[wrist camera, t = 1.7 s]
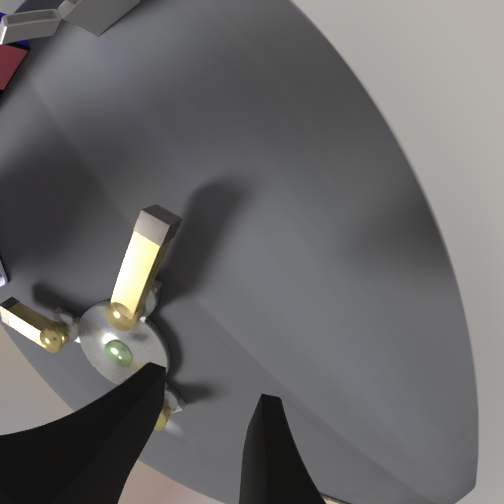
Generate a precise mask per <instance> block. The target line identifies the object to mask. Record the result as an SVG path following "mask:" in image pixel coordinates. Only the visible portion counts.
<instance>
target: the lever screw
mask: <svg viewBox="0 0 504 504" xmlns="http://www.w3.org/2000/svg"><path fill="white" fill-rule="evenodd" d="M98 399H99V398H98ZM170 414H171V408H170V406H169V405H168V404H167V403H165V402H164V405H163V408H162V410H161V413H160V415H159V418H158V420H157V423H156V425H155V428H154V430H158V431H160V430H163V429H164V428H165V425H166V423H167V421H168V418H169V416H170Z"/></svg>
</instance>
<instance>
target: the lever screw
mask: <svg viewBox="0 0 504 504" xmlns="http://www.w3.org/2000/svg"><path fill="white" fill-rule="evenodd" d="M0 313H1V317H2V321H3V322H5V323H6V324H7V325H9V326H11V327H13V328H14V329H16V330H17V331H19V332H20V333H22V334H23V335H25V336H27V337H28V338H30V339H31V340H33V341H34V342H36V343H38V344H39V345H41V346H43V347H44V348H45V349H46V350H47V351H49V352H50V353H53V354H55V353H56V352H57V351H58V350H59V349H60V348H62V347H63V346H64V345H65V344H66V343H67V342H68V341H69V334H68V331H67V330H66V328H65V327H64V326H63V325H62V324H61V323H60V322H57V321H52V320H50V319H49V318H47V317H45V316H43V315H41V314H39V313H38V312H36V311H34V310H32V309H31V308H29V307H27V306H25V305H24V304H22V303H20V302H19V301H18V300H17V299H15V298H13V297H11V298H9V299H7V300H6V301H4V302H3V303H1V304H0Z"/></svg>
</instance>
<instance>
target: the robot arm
mask: <svg viewBox="0 0 504 504" xmlns="http://www.w3.org/2000/svg"><path fill="white" fill-rule="evenodd" d="M7 282H8V280H7V277H6V274H5V271H4V269H3V266H2V263H1V260H0V287H1V286H3V285H5V284H7ZM165 379H166V367H164V366H161V365H158V364H155V363H152V362H148V363H146V364H145V365H144V366H143V367H142V368H140V369H139V370H138V371H137V372H135V373H134V374H133V375H132V376H130V377H129V378H128V379H126V380H125V381H124V382H122V383H121V384H120V385H118V386H117V387H115V388H114V389H112V390H111V391H109V392H108V393H107V394H105V395H103V396H102V397H100V398H99V399H97V400H95V401H94V402H92V403H90V404H89V405H87V406H85V407H83V408H81V409H80V410H78V411H76V412H74V413H72V414H70V415H67V416H65V417H63V418H61V419H58V420H56V421H53V422H50V423H48V424H45V425H42V426H39V427H36V428H33V429H29V430H25V431H21V432H16V433H11V434H7V435H0V504H117V503H118V500H119V498H120V495H121V493H122V490H123V488H124V485H125V482H126V480H127V478H128V476H129V474H130V471H131V469H132V468H133V466H134V464H135V462H136V461H137V459H138V457H139V455H140V453H141V452H142V450H143V448H144V446H145V444H146V442H147V441H148V439H149V437H150V435H151V433H152V431H153V430H154V428H155V425H156V423H157V420H158V418H159V415H160V413H161V410H162V408H163V405H164V393H165ZM239 504H327V503H326V502H325V500H324V499H323V497H322V496H321V494H320V493H319V491H318V489H317V488H316V486H315V484H314V483H313V481H312V479H311V477H310V475H309V473H308V471H307V469H306V467H305V465H304V463H303V461H302V459H301V457H300V454H299V452H298V450H297V447H296V445H295V442H294V440H293V437H292V434H291V431H290V428H289V425H288V422H287V419H286V416H285V412H284V409H283V405H282V400H281V399H280V397H275V396H270V395H266V394H261V397H260V399H259V402H258V404H257V407H256V409H255V412H254V414H253V417H252V419H251V421H250V424H249V426H248V430H247V435H246V440H245V445H244V450H243V459H242V472H241V485H240V498H239Z"/></svg>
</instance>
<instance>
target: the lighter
mask: <svg viewBox="0 0 504 504" xmlns="http://www.w3.org/2000/svg"><path fill="white" fill-rule="evenodd" d="M139 3H140V0H65V1H64V2H63V3H62V4H61V5H60V6H59V7H58V9H57V10H56V9H47V10H37V11H28V12H21V13H14V14H9V15H4V16H3V17H2V20H1V23H0V44H1V45H3V44H7V43H11V42H16V41H21V40H27V39H33V38H39V37H46V36H53V35H54V34H55V32H56V29H57V27H58V25H59V23H60V21H61V19H63V20H65V21H67V22H69V23H71V24H73V25H75V26H77V27H79V28H80V29H82V30H84V31H86V32H88V33H90V34H92V35H93V36H95V37H99V36H100V35H101V34H102V33H103V32H104V31H105V30H107V29H108V28H109V27H110V26H111V25H112V24H114V23H115V22H116V21H117V20H118V19H120V18H121V17H122V16H123V15H125V14H126V13H127V12H128V11H130V10H131V9H132V8H134V7H135V6H136V5H138V4H139Z"/></svg>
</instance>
